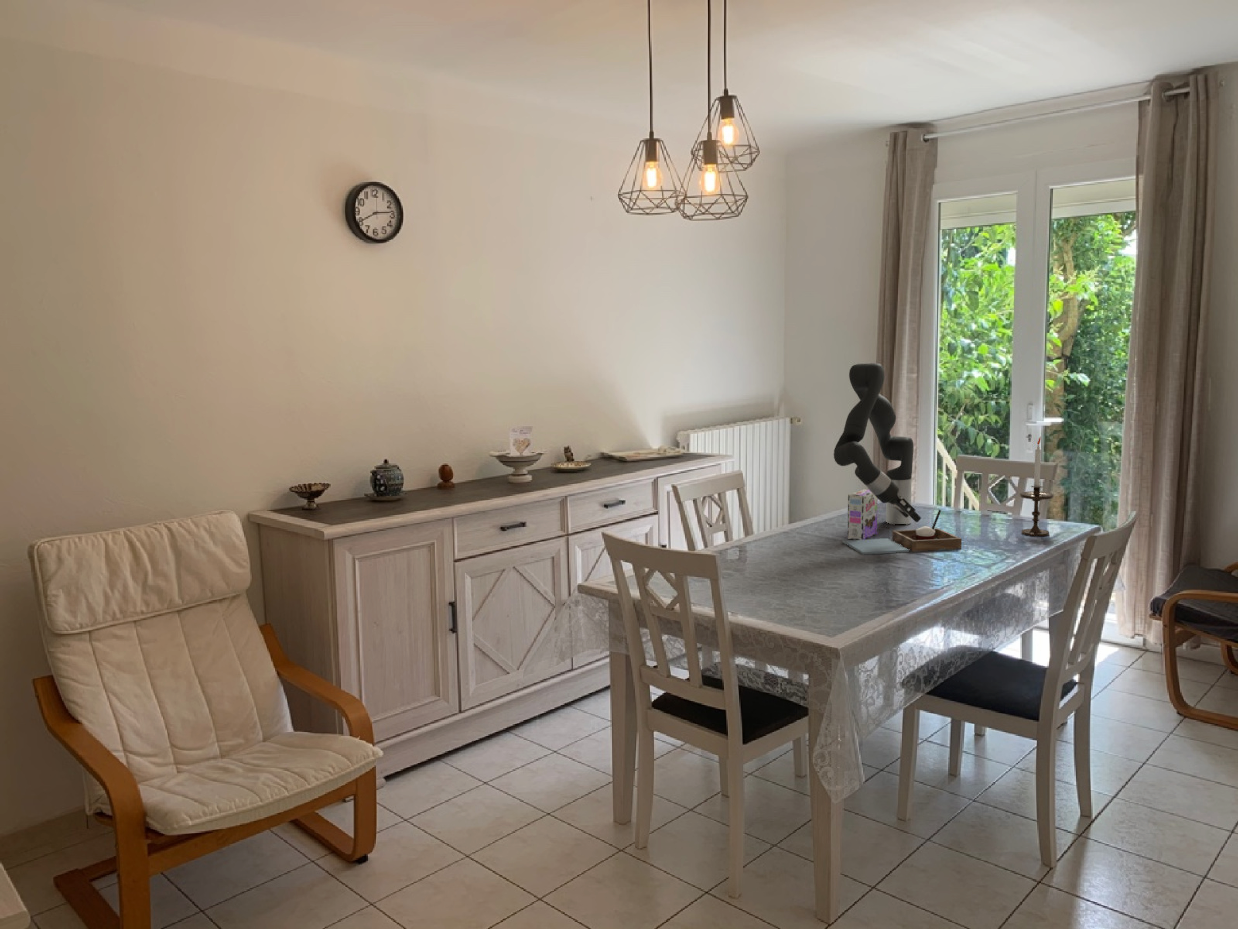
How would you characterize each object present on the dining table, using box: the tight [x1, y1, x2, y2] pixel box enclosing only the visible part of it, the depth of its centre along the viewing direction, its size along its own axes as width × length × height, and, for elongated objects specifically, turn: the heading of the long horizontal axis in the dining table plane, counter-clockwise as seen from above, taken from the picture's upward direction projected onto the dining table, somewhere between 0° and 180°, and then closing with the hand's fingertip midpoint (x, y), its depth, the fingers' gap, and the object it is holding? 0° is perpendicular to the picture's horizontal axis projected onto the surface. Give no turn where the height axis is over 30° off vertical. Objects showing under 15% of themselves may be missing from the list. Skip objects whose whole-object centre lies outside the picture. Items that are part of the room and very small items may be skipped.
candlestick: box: [1019, 436, 1054, 537], centre depth 328 cm, size 11×11×35 cm
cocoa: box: [912, 509, 942, 540], centre depth 318 cm, size 10×6×12 cm, turn 62°
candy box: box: [847, 488, 878, 540], centre depth 333 cm, size 14×6×16 cm, turn 143°
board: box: [843, 537, 910, 556], centre depth 317 cm, size 18×16×1 cm
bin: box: [891, 527, 963, 552], centre depth 318 cm, size 17×17×4 cm
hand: (913, 517), depth 317 cm, fingers open, 8 cm apart
